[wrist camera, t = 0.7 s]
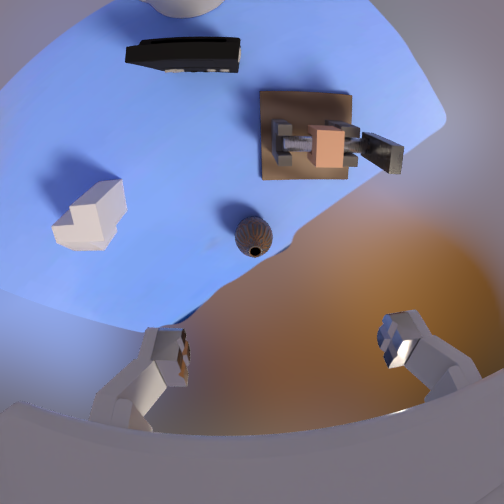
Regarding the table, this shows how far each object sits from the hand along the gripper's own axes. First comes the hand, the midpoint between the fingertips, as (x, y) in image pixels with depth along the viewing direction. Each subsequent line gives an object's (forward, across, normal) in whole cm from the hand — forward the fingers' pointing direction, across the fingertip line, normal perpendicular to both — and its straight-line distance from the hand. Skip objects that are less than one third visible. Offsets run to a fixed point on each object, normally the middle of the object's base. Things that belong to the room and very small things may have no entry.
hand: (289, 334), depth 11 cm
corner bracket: (+42, +30, +11) cm, 53 cm away
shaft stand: (+42, -10, -1) cm, 43 cm away
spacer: (+36, -11, -1) cm, 37 cm away
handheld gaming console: (+42, +7, -15) cm, 45 cm away
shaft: (+36, -12, -1) cm, 38 cm away
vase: (+42, 0, +17) cm, 46 cm away
